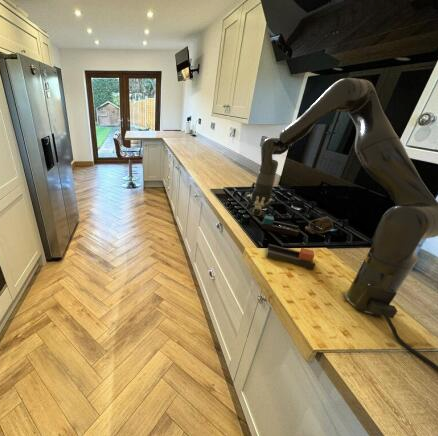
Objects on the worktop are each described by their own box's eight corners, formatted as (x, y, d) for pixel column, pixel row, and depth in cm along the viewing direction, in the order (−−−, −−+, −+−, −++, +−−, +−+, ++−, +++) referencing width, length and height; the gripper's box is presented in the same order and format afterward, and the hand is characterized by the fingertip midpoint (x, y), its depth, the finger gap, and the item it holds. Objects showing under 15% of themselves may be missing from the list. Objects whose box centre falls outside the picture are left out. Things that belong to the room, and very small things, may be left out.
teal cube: (271, 226, 115) (273, 220, 113) (262, 224, 117) (264, 218, 115) (272, 223, 118) (273, 217, 117) (263, 221, 120) (265, 215, 118)
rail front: (312, 270, 88) (315, 264, 86) (266, 257, 94) (268, 251, 93) (311, 260, 93) (313, 255, 92) (267, 249, 100) (268, 243, 98)
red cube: (311, 263, 88) (314, 255, 87) (299, 260, 90) (302, 252, 88) (310, 258, 91) (313, 250, 90) (298, 255, 93) (301, 247, 92)
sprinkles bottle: (258, 212, 134) (264, 190, 128) (262, 216, 130) (268, 193, 124) (250, 212, 134) (256, 190, 128) (254, 216, 130) (260, 193, 124)
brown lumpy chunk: (342, 227, 109) (330, 214, 117) (316, 223, 108) (305, 210, 116) (333, 238, 113) (322, 225, 121) (307, 235, 113) (298, 222, 121)
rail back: (297, 237, 110) (299, 232, 109) (260, 228, 117) (262, 223, 115) (296, 231, 115) (298, 226, 114) (261, 223, 122) (263, 218, 121)
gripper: (249, 181, 111) (241, 214, 118) (280, 186, 105) (269, 221, 113) (250, 178, 117) (243, 209, 124) (280, 182, 111) (270, 215, 119)
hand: (256, 215), depth 118 cm, fingers closed
